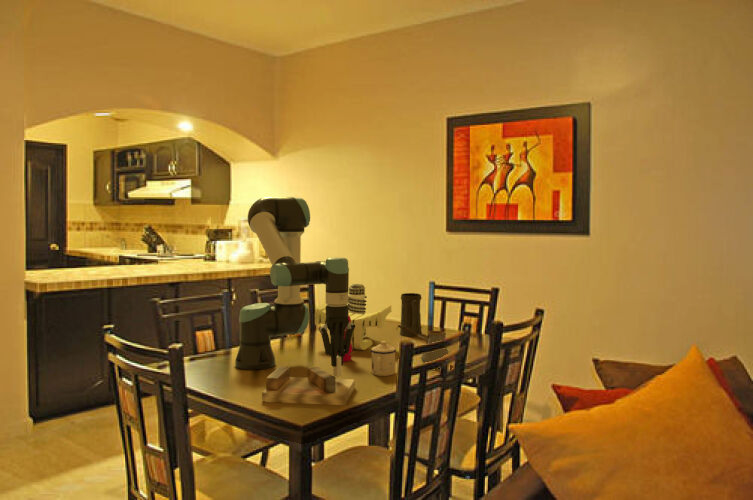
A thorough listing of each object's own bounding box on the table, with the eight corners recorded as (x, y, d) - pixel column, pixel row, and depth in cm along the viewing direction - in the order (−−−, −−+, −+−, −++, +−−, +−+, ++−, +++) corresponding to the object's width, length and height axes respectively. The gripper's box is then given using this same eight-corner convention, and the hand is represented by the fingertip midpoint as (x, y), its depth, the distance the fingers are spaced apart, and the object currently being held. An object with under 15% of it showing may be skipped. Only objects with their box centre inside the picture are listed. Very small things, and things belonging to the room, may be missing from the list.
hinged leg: (307, 380, 196) (307, 366, 196) (317, 378, 198) (317, 365, 198) (327, 393, 182) (327, 379, 181) (337, 391, 183) (337, 377, 183)
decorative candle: (351, 334, 288) (351, 283, 286) (369, 335, 285) (369, 283, 283) (344, 338, 279) (344, 285, 278) (362, 339, 276) (362, 285, 275)
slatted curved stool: (315, 348, 258) (314, 307, 257) (328, 340, 273) (328, 302, 272) (381, 352, 249) (381, 310, 248) (391, 345, 264) (391, 305, 263)
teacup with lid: (374, 369, 223) (374, 338, 222) (398, 370, 221) (398, 339, 220) (365, 377, 212) (365, 345, 211) (390, 379, 209) (390, 346, 208)
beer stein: (396, 332, 292) (397, 292, 290) (416, 331, 295) (417, 291, 293) (407, 340, 278) (408, 299, 275) (428, 339, 281) (429, 298, 278)
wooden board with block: (262, 401, 184) (261, 379, 183) (279, 385, 202) (279, 365, 201) (344, 405, 180) (344, 382, 180) (354, 388, 198) (354, 367, 198)
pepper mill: (350, 362, 233) (349, 311, 232) (332, 361, 234) (332, 311, 233) (354, 358, 240) (354, 309, 239) (337, 357, 242) (336, 308, 240)
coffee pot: (452, 362, 233) (453, 324, 232) (448, 370, 222) (448, 330, 221) (399, 359, 238) (399, 322, 238) (392, 366, 227) (393, 327, 227)
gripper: (325, 308, 188) (325, 381, 189) (360, 304, 195) (360, 375, 196) (314, 305, 194) (314, 376, 195) (348, 301, 201) (348, 370, 203)
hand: (337, 375), depth 196 cm, fingers closed
